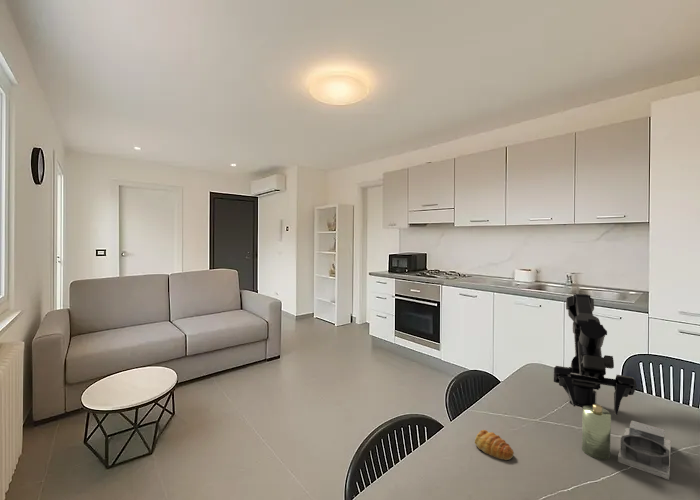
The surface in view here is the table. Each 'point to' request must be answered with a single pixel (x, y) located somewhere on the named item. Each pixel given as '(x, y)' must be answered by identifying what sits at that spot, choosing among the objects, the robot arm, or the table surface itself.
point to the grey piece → (646, 449)
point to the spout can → (596, 431)
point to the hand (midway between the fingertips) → (594, 409)
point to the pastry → (493, 445)
